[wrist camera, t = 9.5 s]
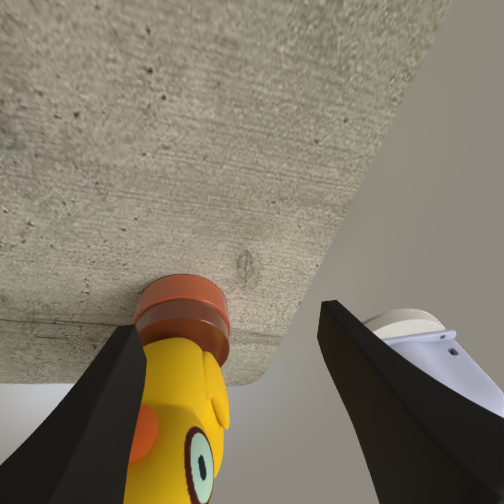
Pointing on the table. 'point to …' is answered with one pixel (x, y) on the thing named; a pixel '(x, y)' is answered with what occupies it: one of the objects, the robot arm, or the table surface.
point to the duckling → (178, 426)
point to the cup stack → (185, 313)
